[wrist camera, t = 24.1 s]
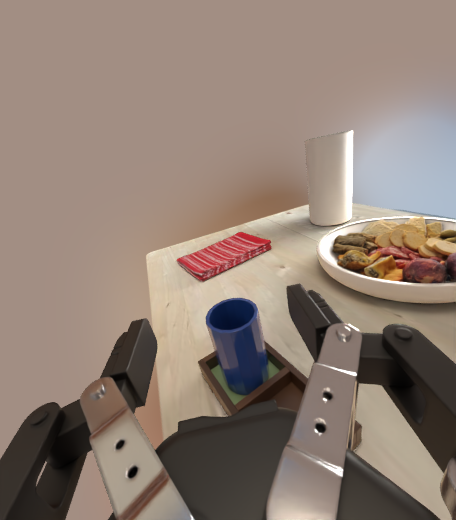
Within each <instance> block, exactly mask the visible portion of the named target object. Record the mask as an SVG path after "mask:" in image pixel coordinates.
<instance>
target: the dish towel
mask: <svg viewBox="0 0 456 520" xmlns="http://www.w3.org/2000/svg"><path fill="white" fill-rule="evenodd" d="M270 243H271V241H270V240H266V239H262V238H259V237H256V236H252V235H249V234H246V233H243V232H239V233H237V234H235V235H233V236H231V237H229V238H226V239H224V240H222V241H220V242H218V243H215V244H213V245H211V246H208V247H206V248H204V249H202V250H199V251H197V252H195V253H192V254H190V255H186V256H183V257H181V258H179V259H177V262H178V264H180V265H181V266H182V267H183V268H185V269H186V270H187V271H188V272H189V273H191V274H192V275H193V276H194V277H196V278H197V279H199V280H200V281H204V280H206V279H209V278H211V277H213V276H215V275H217V274H219V273H221V272H223V271H226V270H228V269H229V268H232V267H234V266H236V265H238V264H240V263H243V262H245V261H247V260H249V259H251V258H253V257H255V256H257V255H259V254H262V253H263V252H266V251H268V250H270V249H271V245H270Z"/></svg>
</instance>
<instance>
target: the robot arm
mask: <svg viewBox="0 0 456 520" xmlns="http://www.w3.org/2000/svg"><path fill="white" fill-rule="evenodd" d="M287 299H288V308H289V313H290V316H291V319H292V321H293V322H294V324H295V326H296V328H297V330H298V331H299V333H300V335H301V337H302V339H303V341H304V342H305V344H306V346H307V348H308V350H309V352H310V353H311V355H312V357H313V359H314V361H315V362H314V363H313V366H312V369H311V372H310V375H309V378H308V382H307V385H306V388H305V391H304V394H303V398H302V401H301V404H300V407H299V410H298V412H297V411H295V410H291V409H288V408H282V407H277V404H276V400H275V399H274V400H269V401H265V402H261V403H257V404H252V405H250V406H248V407H246V408H244V409H242V410H241V411H239V412H237V413H235V414H233V415H231V416H229V417H209V416H201V417H197V418H193V419H188V420H184V421H180V422H178V431H177V432H175V433H174V434H172V435H171V436H169V437H168V438H167V439H166V440H164V441H163V442H162V443H161V444H160V445H159V447H158V448H157V449H156V450H155V449H154V448H153V446H152V444H151V443H150V441H149V439H148V437H147V436H146V434H145V432H144V431H143V429H142V427H141V426H140V424H139V422H138V420H137V419H136V417H135V415H134V412H135V409H136V407H141V406H145V402H146V397H147V393H148V389H149V384H150V380H151V375H152V371H153V367H154V362H155V358H156V353H157V340H156V337H155V335H154V333H153V330H152V328H151V326H150V324H149V321H148V320H147V319H146V318H145V319H141V320H136V321H132V322H131V324H130V327H129V329H128V332H124V333H123V334H122V335H121V336H120V337H119V339H118V340H117V342H116V344H115V346H114V349H113V351H112V353H111V356H110V358H109V359H108V362H107V364H106V366H105V369H104V370H103V373H102V375H101V377H100V379H98V380H96V381H94V382H93V383H91V384H90V385H89V386H88V387H87V388H86V389H85V391H84V392H83V393H82V395H81V398H80V399H79V400H77V401H75V402H73V403H71V404H69V405H67V406H65V407H63V408H61V407H60V406H59V405H58V404H57V403H55V402H51V403H47V404H45V405H43V406H41V407H39V408H38V409H36V410H35V411H33V412H32V413H31V414H30V415H29V416H28V417H27V419H26V420H25V421H24V422H23V424H22V425H21V427H20V428H19V430H18V432H17V433H16V435H15V436H14V438H13V440H12V441H11V443H10V445H9V446H8V448H7V449H6V451H5V453H4V455H3V456H2V458H1V459H0V520H65V519H66V516H67V513H68V510H69V507H70V504H71V501H72V498H73V494H74V492H75V489H76V486H77V483H78V480H79V477H80V474H81V471H82V467H83V465H84V462H85V459H86V456H87V453H88V452H89V451H91V450H93V453H94V456H95V458H96V462H97V464H98V467H99V470H100V473H101V476H102V479H103V482H104V485H105V488H106V491H107V494H108V497H109V499H110V503H111V505H112V508H113V513H112V515H111V516H110V518H109V519H108V520H440V519H439V518H438V517H437V516H436V515H435V514H434V513H432V512H431V511H430V510H429V509H428V508H426V507H425V506H424V505H422V504H421V503H420V502H418V501H417V500H416V499H414V498H413V497H412V496H411V495H409V494H408V493H407V492H405V491H404V490H403V489H401V488H400V487H399V486H397V485H396V484H395V483H393V482H392V481H391V480H390V479H388V478H387V477H386V476H384V475H383V474H382V473H380V472H379V471H378V470H376V469H375V468H374V467H372V466H371V465H370V464H369V463H367V462H366V461H365V460H363V459H362V458H361V457H359V456H358V455H357V454H355V453H354V452H353V451H352V444H353V434H354V423H355V414H356V406H357V398H358V389H359V383H363V384H376V385H382V386H383V388H384V389H385V391H386V392H387V393H388V395H389V396H390V398H391V399H392V401H393V402H394V403H395V405H396V406H397V408H398V409H399V411H400V412H401V413H402V415H403V416H404V418H405V419H406V420H407V422H408V423H409V425H410V426H411V428H412V429H413V430H414V432H415V433H416V435H417V436H418V438H419V439H420V440H421V442H422V443H423V445H424V446H425V447H426V449H427V450H428V452H429V453H430V455H431V456H432V457H433V459H434V460H435V462H436V463H437V465H438V466H439V467H440V469H441V470H442V472H443V473H444V475H443V478H442V480H441V484H440V491H441V495H442V498H443V500H444V502H445V504H446V506H447V508H448V510H449V512H450V514H451V517H452V520H456V364H455V363H454V362H453V361H452V360H451V359H449V358H448V357H447V356H446V355H445V354H444V353H443V352H442V351H441V350H439V349H438V348H437V347H436V346H435V345H434V344H433V343H432V342H430V341H429V340H428V339H427V338H426V337H425V336H424V335H423V334H421V333H420V332H419V331H418V330H416V329H414V328H412V327H410V326H407V325H403V324H391V325H388V326H386V327H385V328H384V329H383V334H378V333H361V332H360V331H359V330H358V329H357V328H355V327H354V326H352V325H349V324H344V322H343V321H342V320H341V319H340V318H339V317H338V315H337V314H336V313H335V312H334V311H333V309H332V308H331V307H330V306H329V305H328V304H327V302H326V301H325V300H324V299H323V298H322V296H321V295H320V294H318V293H316V292H315V291H313V290H309V291H306V290H305V289H304V288H303V286H302V285H301V284H295V285H291V286H287ZM45 461H46V462H47V464H46V466H45V469H44V471H43V473H42V475H41V478H40V480H39V482H38V484H37V486H36V482H37V479H38V476H39V474H40V472H41V470H42V467H43V465H44V463H45Z"/></svg>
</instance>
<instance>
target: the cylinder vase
mask: <svg viewBox="0 0 456 520" xmlns="http://www.w3.org/2000/svg"><path fill="white" fill-rule="evenodd" d="M305 148H306V165H307V181H308V197H309V213H310V221H311V222H312V223H313V224H315V225H320V226H332V225H338V224H342V223H345V222H347V221H349V220H350V219H351V217H352V163H353V162H352V160H353V159H352V158H353V131H346V132H341V133H336V134H331V135H327V136H322V137H317V138H313V139H309V140H306V141H305Z"/></svg>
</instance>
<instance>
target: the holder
mask: <svg viewBox="0 0 456 520" xmlns="http://www.w3.org/2000/svg"><path fill="white" fill-rule="evenodd" d="M264 343H265V349H266V354H267V359H268V364H269V379H268V380H267V381H266V382H265V383H263V384H262V385H261V386H259V387H258V388H257V389H255V390H254V391H253V392H251V393H250V394H249V395H239V394H236V393H234V392H232V391H231V390H230V389H229V388H228V387H227V385H226V383H225V381H224V379H223V375H222V372H221V369H220V366H219V363H218V360H217V356H216V353H215V351H214V352H213V353H211V354H209V355H208V356H206V357H205V358H203V359H201V360H200V361H198V364H199V367H200V369H201V372H202V375H203V376H204V378H205V379H206V381H207V383H208V384H209V386H210V387H211V389H212V391H213V392H214V394H215V396H216V397H217V399H218V400H219V402H220V404H221V405H222V407H223V408H224V410H225V412H226V413H227V415H228V416H231V415H233V414H235V413H237V412H239V411H241V410H242V409H244V408H246V407H248V406H250V405H252V404H257V403H261V402H265V401H269V400H274V399H275V400H276V404H277V407H282V408H288V409H291V410H295V411H297V412H298V410H299V407H300V404H301V401H302V398H303V394H304V391H305V388H306V385H307V382H308V378H306V377H305V376H304V375H303V374H302V373H301V372H300V371H298V370H297V369H296V368H295V367H294V366H293V365H292V364H290V363H289V362H288V361H287V360H286V359H285V358H284V357H282V356H281V355H280V354H279V353H278V352H277V351H276V350H274V349H273V348H272V347H271V346H270V345H269V344H268V343H266V342H265V341H264ZM361 430H362V426H361V425H360V424H359V423H358V422H357V421H356V420H355V423H354V434H353V444H352V451H353V450H354V449H355V448H356V447H357V445H358V444H359V443H360V442H361Z"/></svg>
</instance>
